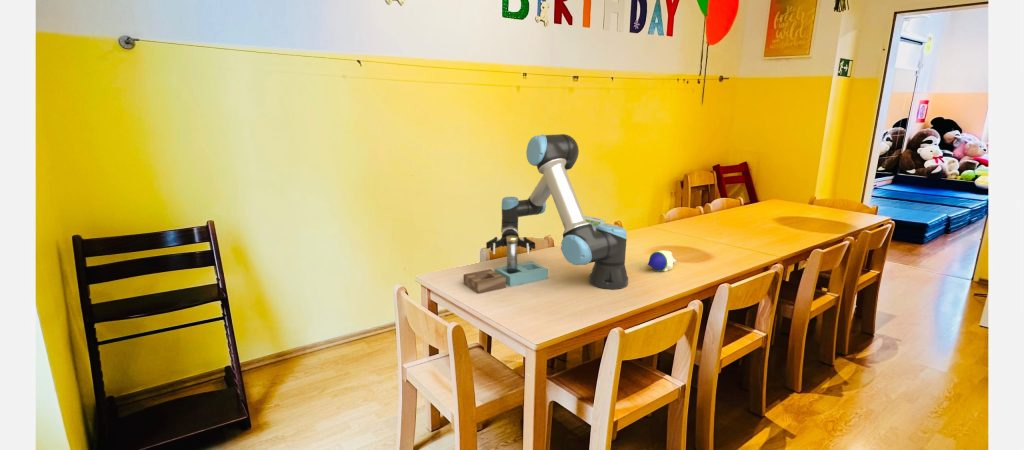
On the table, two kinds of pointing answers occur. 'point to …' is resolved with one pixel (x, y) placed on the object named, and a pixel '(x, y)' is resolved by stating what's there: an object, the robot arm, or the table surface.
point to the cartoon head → (661, 260)
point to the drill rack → (524, 273)
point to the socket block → (484, 281)
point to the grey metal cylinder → (512, 254)
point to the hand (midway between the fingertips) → (511, 251)
